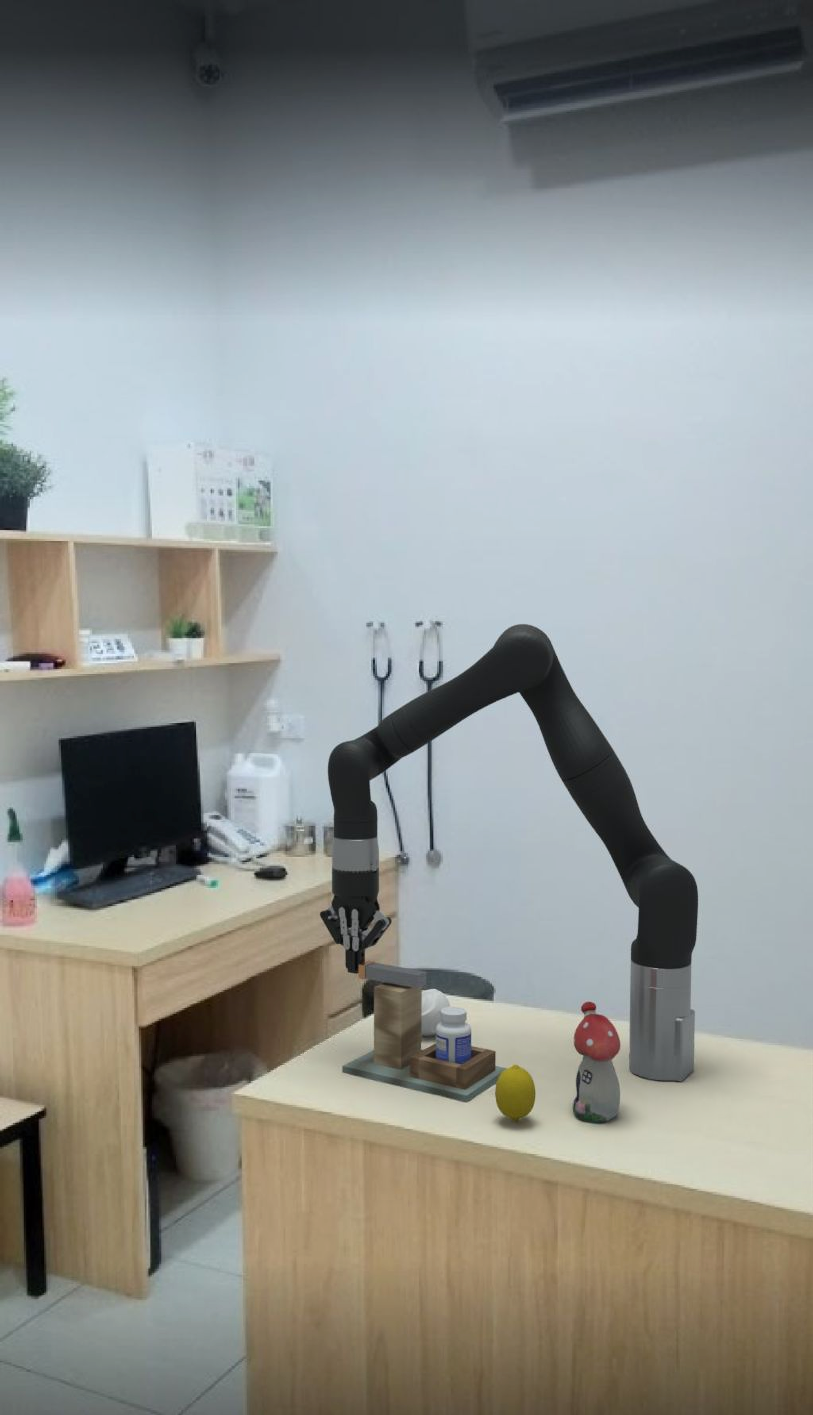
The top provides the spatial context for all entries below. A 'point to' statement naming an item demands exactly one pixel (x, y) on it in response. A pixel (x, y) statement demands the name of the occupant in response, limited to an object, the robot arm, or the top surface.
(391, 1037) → the socket board
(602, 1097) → the decorative ornament
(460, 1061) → the pill bottle
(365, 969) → the bar
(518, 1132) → the top surface
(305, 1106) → the top surface
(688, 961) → the robot arm
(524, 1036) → the top surface
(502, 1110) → the lemon
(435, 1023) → the white rounded piece
